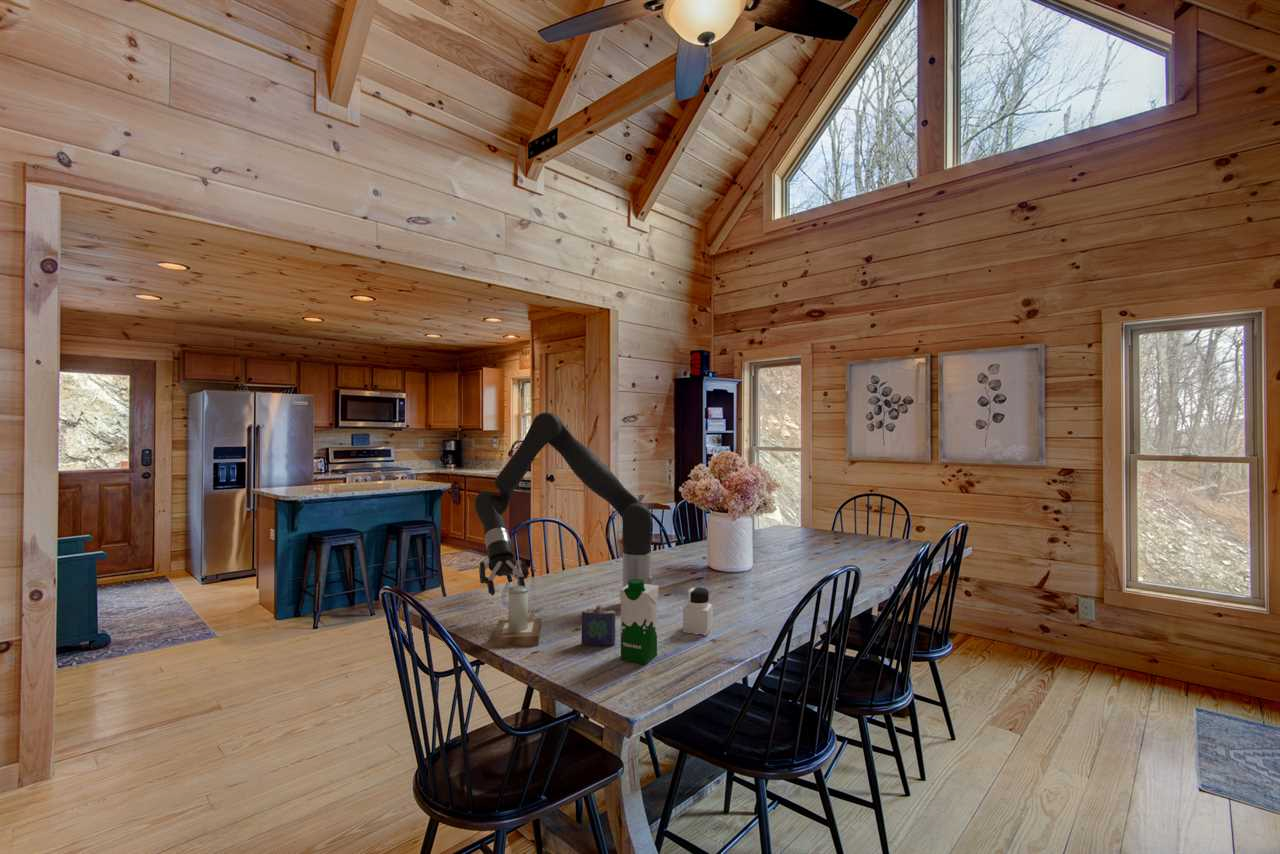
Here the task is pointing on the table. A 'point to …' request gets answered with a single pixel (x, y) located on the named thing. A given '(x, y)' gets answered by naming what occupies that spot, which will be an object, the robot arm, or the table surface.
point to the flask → (598, 627)
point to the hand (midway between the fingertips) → (507, 592)
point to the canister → (518, 608)
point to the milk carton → (638, 621)
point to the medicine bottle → (698, 612)
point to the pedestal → (517, 634)
